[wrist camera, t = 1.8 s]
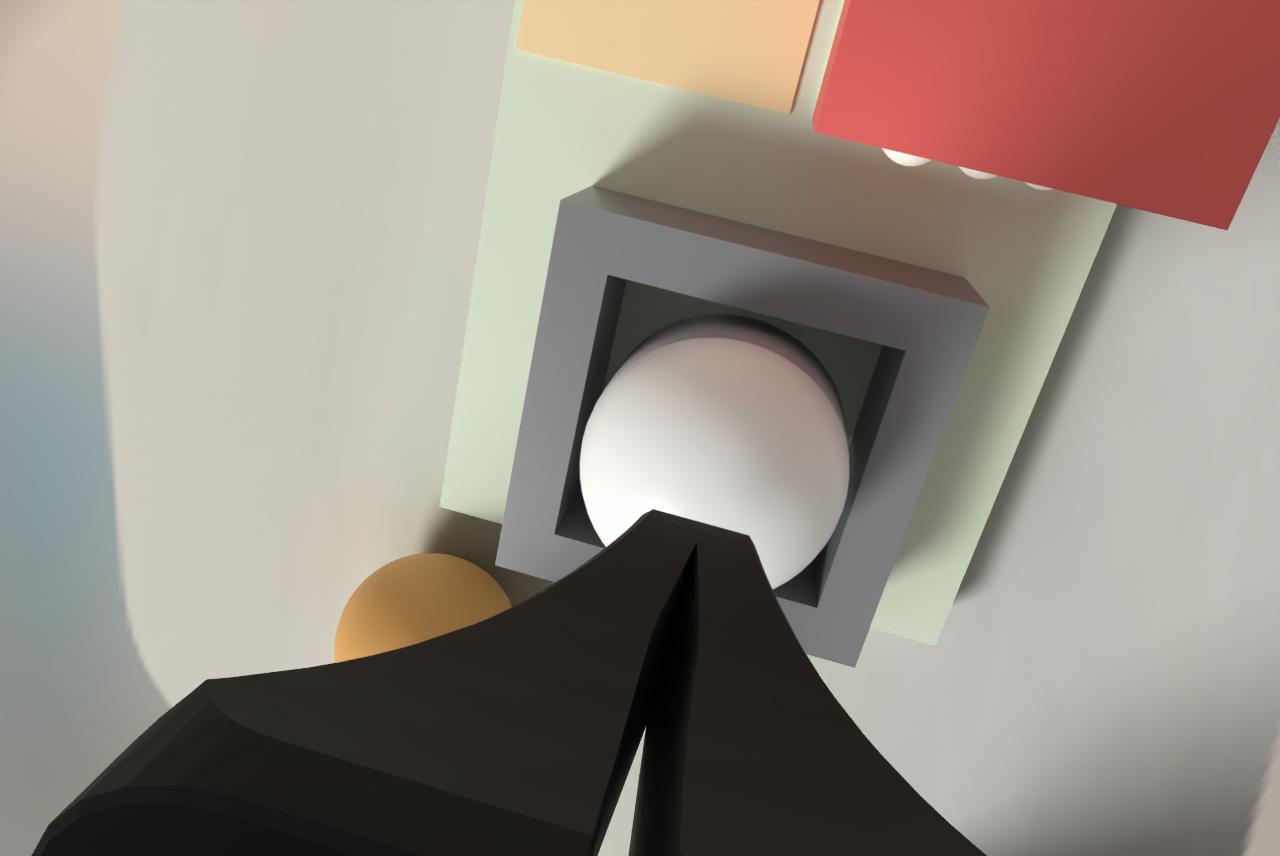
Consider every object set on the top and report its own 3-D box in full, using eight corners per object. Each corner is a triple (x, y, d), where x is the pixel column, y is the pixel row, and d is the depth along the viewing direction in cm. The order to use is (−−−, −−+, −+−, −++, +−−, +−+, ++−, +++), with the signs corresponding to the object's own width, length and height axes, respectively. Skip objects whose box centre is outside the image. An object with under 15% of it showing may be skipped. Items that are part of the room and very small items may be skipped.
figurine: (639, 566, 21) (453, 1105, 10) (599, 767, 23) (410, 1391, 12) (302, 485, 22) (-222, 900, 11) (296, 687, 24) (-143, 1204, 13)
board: (928, 614, 20) (936, 648, 19) (458, 484, 21) (437, 508, 20) (1253, -196, 14) (1295, -223, 13) (585, -331, 15) (565, -367, 14)
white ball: (805, 553, 18) (805, 691, 14) (589, 493, 18) (526, 611, 14) (875, 341, 16) (899, 427, 12) (635, 280, 16) (579, 343, 12)
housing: (848, 599, 19) (854, 667, 17) (530, 511, 19) (494, 565, 17) (964, 277, 16) (989, 307, 14) (592, 185, 17) (560, 199, 15)
